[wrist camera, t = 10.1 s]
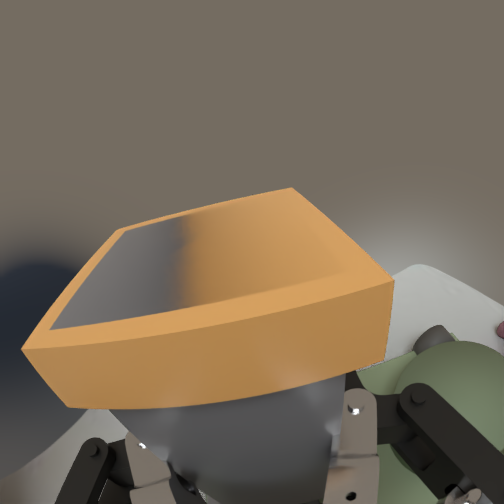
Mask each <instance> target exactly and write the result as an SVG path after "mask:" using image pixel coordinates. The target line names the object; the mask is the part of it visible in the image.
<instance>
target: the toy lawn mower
mask: <svg viewBox="0 0 504 504" xmlns="http://www.w3.org/2000/svg"><path fill="white" fill-rule="evenodd" d="M356 373H357V375H358V377H359V379H360V381H361V383H362V384H363V386H364V387H365V388H366V389H367V390H368V391H369V392H371V393H374V394H377V395H391V394H400V393H401V392H402V391H403V389H404V388H405V387H407V386H408V385H410V384H413V383H424V384H427V385H429V386H430V387H432V388H433V389H434V390H435V391H436V392H437V393H438V394H439V395H440V396H442V397H443V398H444V399H445V400H446V401H447V402H448V403H449V404H450V405H451V406H452V407H453V408H455V409H456V410H457V411H458V412H459V413H460V414H461V415H462V416H463V417H464V418H465V419H466V420H467V421H468V422H469V423H471V424H472V425H473V426H474V427H475V428H476V429H477V430H478V431H479V432H480V433H481V434H482V435H483V436H484V437H485V438H486V439H487V440H488V441H489V442H490V443H492V444H493V445H494V446H495V447H496V448H497V449H498V450H499V451H500V452H501V453H502V454H503V455H504V357H503V356H502V355H501V354H500V353H498V352H496V351H495V350H493V349H491V348H489V347H487V346H484V345H482V344H478V343H474V342H468V341H459V340H458V339H457V338H456V337H455V335H454V334H453V333H449V332H448V331H447V330H446V329H445V328H444V327H443V326H442V325H436V326H434V327H432V328H430V329H428V330H427V331H426V332H424V333H423V334H422V335H421V336H420V338H419V339H418V340H417V341H416V343H415V345H414V347H413V350H412V352H409V353H407V354H404V355H402V356H400V357H397V358H395V359H392V360H389V361H387V362H384V363H382V364H379V365H376V366H373V367H371V368H368V369H365V370H362V371H359V372H356ZM377 454H378V455H379V463H380V465H379V484H378V497H377V504H436V503H437V501H438V499H437V498H436V497H435V495H434V494H433V493H432V492H431V491H430V490H429V489H428V488H427V486H426V485H425V484H424V483H423V482H422V481H421V479H420V478H419V477H418V476H417V475H416V474H415V473H414V471H413V470H412V469H411V468H410V467H409V466H408V464H407V463H406V462H405V461H404V460H403V459H402V457H401V456H400V455H399V454H398V453H397V452H396V450H395V449H394V448H393V447H392V446H391V445H390V444H382V445H377ZM323 500H324V498H322V499H319V502H320V503H323ZM206 503H207V504H221V503H219V502H217V501H216V500H214V499H213V498H211V497H210V496H208V495H207V494H206ZM305 503H306V502H305Z"/></svg>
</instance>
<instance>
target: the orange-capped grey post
mask: <svg viewBox="0 0 504 504" xmlns="http://www.w3.org/2000/svg"><path fill="white" fill-rule="evenodd" d="M393 290H394V279H393V278H392V277H391V276H390V275H389V274H388V273H386V271H385V270H384V269H383V268H382V267H381V266H380V265H378V264H377V263H376V262H375V261H374V260H373V259H372V258H371V257H370V256H369V255H368V254H367V253H366V252H365V251H364V250H363V249H362V248H361V247H359V246H358V245H357V244H356V243H355V242H354V241H353V240H352V239H351V238H350V237H349V236H348V235H346V234H345V233H344V232H343V231H342V230H341V229H340V228H339V227H338V226H336V225H335V224H334V223H333V222H332V221H331V220H330V219H329V218H327V217H326V216H325V215H324V214H323V213H322V212H321V211H319V210H318V209H317V208H316V207H315V206H313V205H312V204H311V203H310V202H309V201H308V200H306V199H305V198H304V197H303V196H301V195H300V194H299V193H298V192H297V191H296V190H294V189H293V188H286V189H281V190H277V191H272V192H266V193H262V194H257V195H252V196H248V197H243V198H238V199H234V200H229V201H225V202H221V203H216V204H212V205H208V206H204V207H200V208H196V209H192V210H188V211H184V212H180V213H176V214H172V215H168V216H164V217H160V218H157V219H153V220H149V221H146V222H142V223H138V224H135V225H132V226H128V227H124V228H121V229H118V230H116V232H115V233H114V234H113V235H112V236H111V237H110V238H109V239H108V240H107V241H106V242H105V243H104V244H103V245H102V247H101V248H100V249H99V250H98V251H97V252H96V253H95V254H94V255H93V256H92V258H91V259H90V260H89V261H88V262H87V263H86V264H85V266H84V267H83V268H82V269H81V270H80V272H79V273H78V274H77V275H76V276H75V277H74V279H73V280H72V281H71V282H70V284H69V285H68V286H67V287H66V288H65V290H64V291H63V292H62V294H61V295H60V296H59V297H58V299H57V300H56V301H55V302H54V304H53V305H52V306H51V308H50V309H49V310H48V312H47V313H46V314H45V316H44V317H43V318H42V320H41V321H40V323H39V324H38V325H37V327H36V328H35V330H34V331H33V332H32V334H31V335H30V337H29V338H28V340H27V341H26V343H25V344H24V346H23V347H22V349H21V350H22V351H23V353H24V354H25V356H26V357H27V358H28V360H29V361H30V362H31V364H32V365H33V366H34V368H35V369H36V370H37V372H38V373H39V374H40V375H41V377H42V378H43V379H44V380H45V382H46V383H47V384H48V385H49V386H50V388H51V389H52V390H53V391H54V392H55V393H56V395H57V396H58V397H59V398H60V399H61V400H62V401H63V402H64V403H65V405H66V406H67V407H72V408H86V409H109V410H110V411H111V413H112V414H113V415H114V416H115V417H116V418H117V419H118V420H119V421H120V422H121V423H122V424H123V425H124V426H125V427H126V428H127V429H128V430H129V431H130V432H131V433H132V434H133V435H134V436H135V437H136V438H137V439H138V440H139V441H140V442H141V443H142V444H143V445H144V446H146V447H147V448H148V449H149V450H150V451H151V452H152V453H153V454H155V455H156V456H157V457H158V458H159V459H160V460H166V461H167V462H169V463H170V464H171V465H172V466H173V469H174V471H175V472H176V473H178V474H179V475H180V476H182V477H183V478H184V479H186V480H191V481H192V482H194V483H195V484H196V486H197V488H198V489H199V490H201V491H202V492H204V493H205V494H207V495H208V496H210V497H211V498H213V499H214V500H216V501H217V502H219V503H221V504H301V503H305V502H310V501H314V500H318V499H322V498H324V494H325V489H326V483H327V476H328V469H329V462H330V456H331V448H332V440H333V436H334V435H337V434H340V431H341V423H342V413H343V403H344V391H345V378H346V373H348V372H351V371H354V370H357V369H360V368H363V367H366V366H369V365H371V364H374V363H377V362H380V361H382V360H384V357H385V351H386V345H387V339H388V332H389V325H390V318H391V310H392V301H393Z"/></svg>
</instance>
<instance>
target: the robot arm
mask: <svg viewBox="0 0 504 504" xmlns="http://www.w3.org/2000/svg"><path fill="white" fill-rule="evenodd" d="M382 444H390V445H391V446H392V447H393V448H394V449H395V450H396V452H397V453H398V454H399V455H400V456H401V457H402V459H403V460H404V461H405V462H406V463H407V464H408V466H409V467H410V468H411V469H412V470H413V471H414V473H415V474H416V475H417V476H418V477H419V478H420V479H421V481H422V482H423V483H424V484H425V485H426V486H427V488H428V489H429V490H430V491H431V492H432V493H433V494H434V495H435V497H436V498H437V499H438V501H437V503H436V504H504V455H503V454H502V453H501V452H500V451H499V450H498V449H497V448H496V447H495V446H494V445H493V444H492V443H490V442H489V441H488V440H487V439H486V438H485V437H484V436H483V435H482V434H481V433H480V432H479V431H478V430H477V429H476V428H475V427H474V426H473V425H472V424H471V423H469V422H468V421H467V420H466V419H465V418H464V417H463V416H462V415H461V414H460V413H459V412H458V411H457V410H456V409H455V408H453V407H452V406H451V405H450V404H449V403H448V402H447V401H446V400H445V399H444V398H443V397H442V396H440V395H439V394H438V393H437V392H436V391H435V390H434V389H433V388H432V387H430V386H429V385H427V384H424V383H413V384H410V385H408V386H407V387H405V388H404V389H403V391H402V392H401V393H400V394H391V395H377V394H374V393H371V392H369V391H368V390H367V389H366V388H365V387H364V386H363V384H362V383H361V381H360V379H359V377H358V375H357V373H356V371H355V370H354V371H351V372H348V373H346V378H345V391H344V403H343V413H342V423H341V431H340V434H337V435H334V436H333V440H332V448H331V456H330V462H329V469H328V476H327V483H326V489H325V494H324V500H323V503H320V502H319V499H318V500H314V501H310V502H306V503H301V504H377V497H378V484H379V465H380V463H379V455H378V454H377V445H382ZM107 479H108V480H107ZM106 480H107V482H106ZM105 483H106V485H105ZM104 485H105V487H104ZM103 488H104V489H103ZM102 490H103V492H102ZM101 492H102V494H101ZM100 495H101V497H100ZM99 497H100V499H99ZM98 500H99V501H98ZM55 504H207V503H206V502H205V501H204V499H203V498H202V496H201V495H200V493H199V491H198V488H197V486H196V484H195V483H194V482H192V481H191V480H186V479H184V478H183V477H182V476H180V475H179V474H178V473H176V472H175V471H174V469H173V466H172V465H171V464H170V463H169V462H167V461H166V460H160V459H159V458H158V457H157V456H156V455H155V454H153V453H152V452H151V451H150V450H149V449H148V448H147V447H146V446H144V445H143V444H142V443H141V442H140V441H139V440H138V439H137V438H136V437H135V436H134V435H133V434H132V433H131V432H130V431H129V432H128V434H127V435H126V438H125V439H123V440H119V441H116V442H112V443H108V444H107V443H106V442H105V441H104V440H102V439H100V438H90V439H88V440H87V441H86V442H84V444H83V445H82V447H81V449H80V451H79V453H78V455H77V457H76V459H75V461H74V463H73V465H72V467H71V469H70V471H69V473H68V475H67V477H66V480H65V482H64V484H63V486H62V488H61V491H60V493H59V495H58V497H57V500H56V502H55Z"/></svg>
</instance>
